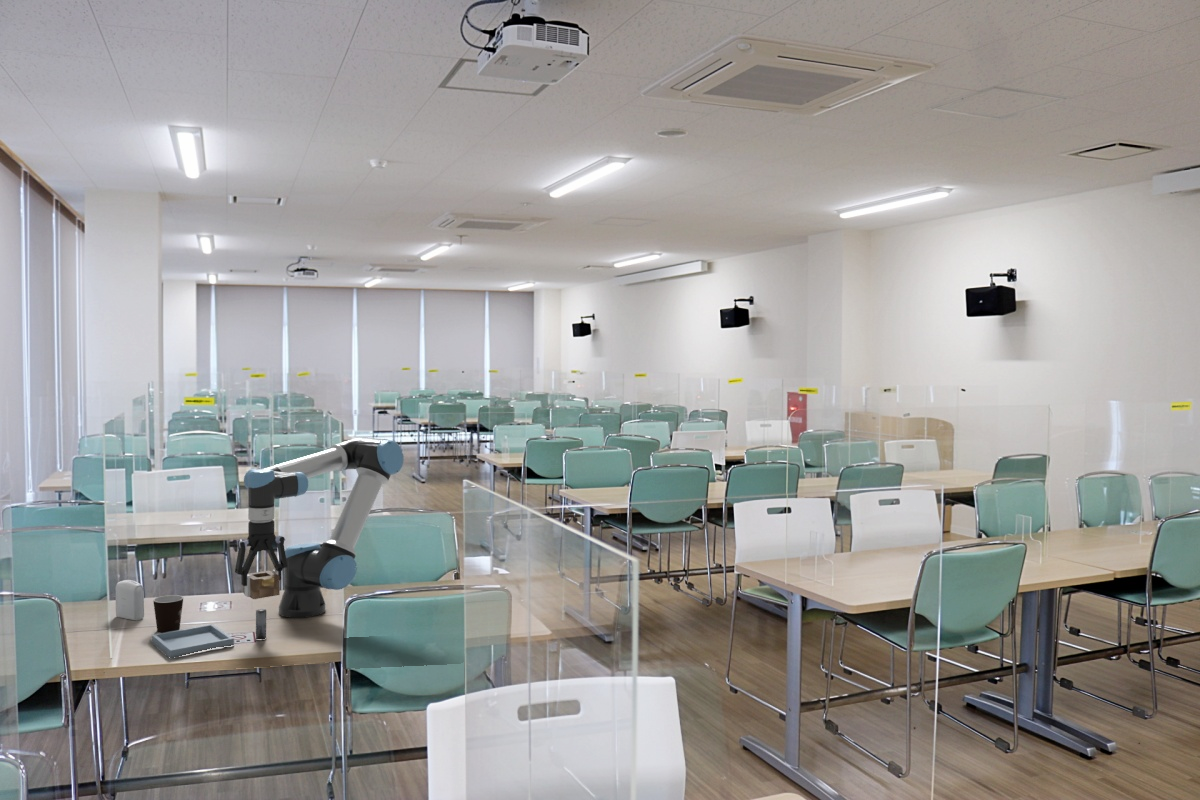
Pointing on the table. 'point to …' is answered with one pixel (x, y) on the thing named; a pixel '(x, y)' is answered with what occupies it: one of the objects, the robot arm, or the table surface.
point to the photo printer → (129, 600)
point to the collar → (264, 584)
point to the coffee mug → (168, 612)
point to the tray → (191, 640)
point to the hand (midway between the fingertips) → (261, 593)
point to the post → (261, 624)
